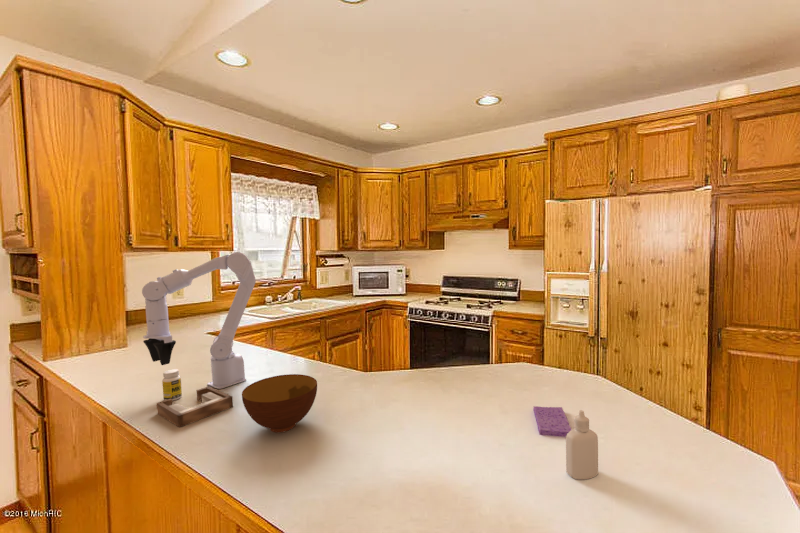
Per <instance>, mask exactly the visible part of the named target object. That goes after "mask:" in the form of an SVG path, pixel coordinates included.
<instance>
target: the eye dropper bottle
mask: <svg viewBox="0 0 800 533" xmlns="http://www.w3.org/2000/svg"><path fill="white" fill-rule="evenodd" d="M573 418H574V419H573V420H574V421H573V423H574V427H573V429H572V428H571V431H570V432H569V433H568V434H567V436H566V437H565V460H566V461H565V467H566V470H565V471H566V473H567V474H568V476H570V477H571V478H572V479H574V480H580V481H582V480H589V479H592V478H595V477H596V476H597V475H598V474H599V436H598V433H596V432H595V431H594V430H592V429H590V419H589V417H587V416H585V411H584V410H582V409H580V410H579V412H578V415H575V416H574V417H573Z"/></svg>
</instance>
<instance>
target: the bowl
mask: <svg viewBox="0 0 800 533" xmlns="http://www.w3.org/2000/svg"><path fill="white" fill-rule="evenodd" d="M317 392H318V382H317V379H316V378H314V377H313V376H310V375H306V374H298V373H297V374H296V373H294V374H293V373H292V374H281V375H276V376H270V377H266V378H262V379H260V380H257V381H255V382H253V383H251V384H249V385H247V386H246V387H245V388H244V389H242V392H241V398H242V404H243V406H244V410H245V411H246V412H247V414H248V416H249V418H251V419H252V420H253V421H254V422H255V423H256V424H257V425H258V426H261V427H264V428H266V429H269V430H270V432H273V433H285V432H288V431H290V429H291V430H293V429H294V428H295V427H294V426H296V425H297V424H298V423H299V422H300V421H302V420H303V419H304V418H305V417H306V416H307V415H308V414H309V412H310V410H311V409H312V408H313V407H312V406H313V405H314V403H315V400H316V397H317ZM293 427H294V428H293ZM284 431H285V432H284Z"/></svg>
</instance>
